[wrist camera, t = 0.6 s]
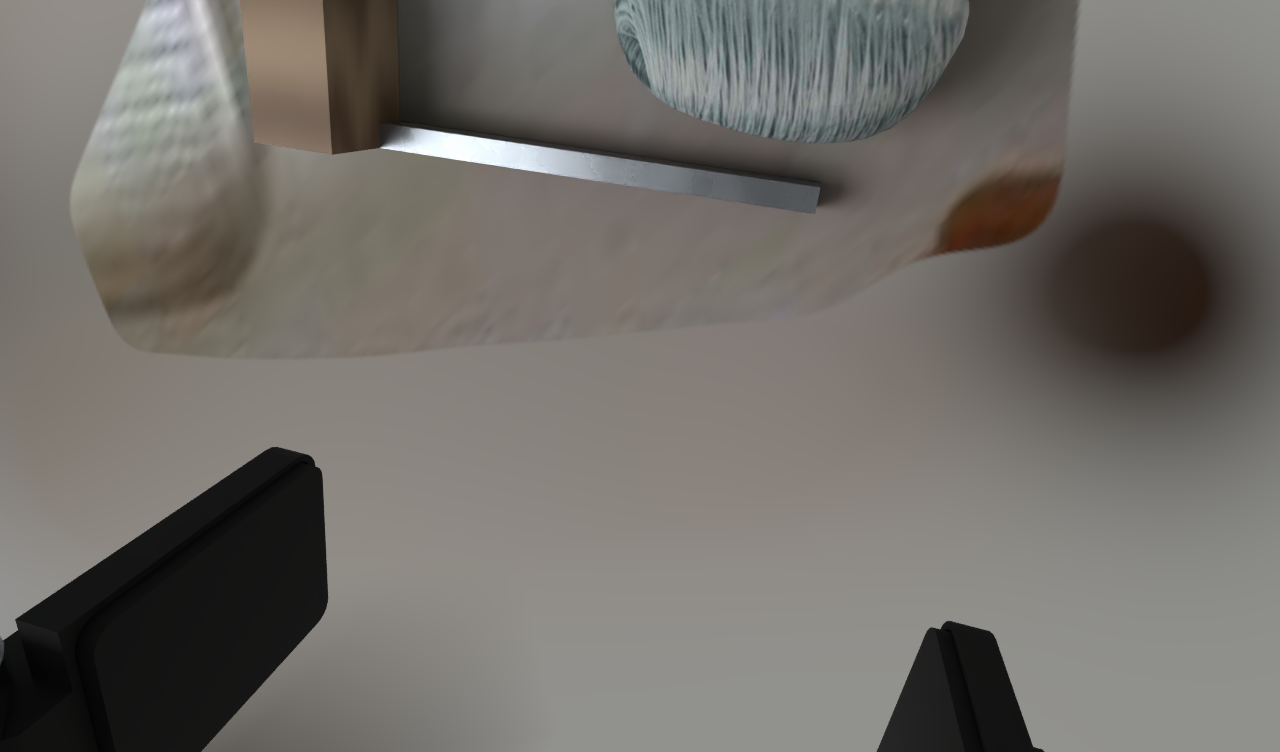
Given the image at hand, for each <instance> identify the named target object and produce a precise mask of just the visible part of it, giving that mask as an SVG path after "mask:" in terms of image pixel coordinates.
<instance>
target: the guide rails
mask: <svg viewBox="0 0 1280 752" xmlns="http://www.w3.org/2000/svg"><path fill="white" fill-rule="evenodd" d="M379 137H380V148H385V149H391V150H398V151H404V152H411V153H417V154H424V155H431V156H437V157H444V158H450V159H457V160H463V161H470V162H477V163H483V164H490V165H496V166H503V167H509V168H516V169H523V170H529V171H536V172H542V173H549V174H555V175H562V176H569V177H575V178H582V179H588V180H595V181H601V182H608V183H614V184H621V185H628V186H634V187H641V188H647V189H654V190H660V191H667V192H674V193H680V194H687V195H693V196H700V197H706V198H713V199H720V200H726V201H733V202H739V203H746V204H752V205H759V206H766V207H772V208H779V209H785V210H792V211H798V212H805V213H811V214H815V212H816V207H817V202H818V198H819V193H820V188H821V187H820V182H815V181H808V180H801V179H794V178H787V177H780V176H773V175H766V174H760V173H753V172H746V171H739V170H732V169H725V168H718V167H711V166H704V165H698V164H691V163H684V162H677V161H670V160H663V159H656V158H649V157H643V156H636V155H629V154H622V153H615V152H608V151H601V150H594V149H588V148H581V147H574V146H567V145H560V144H553V143H546V142H539V141H532V140H526V139H519V138H512V137H505V136H498V135H491V134H484V133H477V132H471V131H464V130H457V129H450V128H443V127H436V126H429V125H422V124H416V123H409V122H402V121H396V122H384V123H379Z"/></svg>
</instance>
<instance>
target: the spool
mask: <svg viewBox="0 0 1280 752" xmlns="http://www.w3.org/2000/svg"><path fill="white" fill-rule="evenodd" d="M968 16H969V0H614V17H615V23H616V28H617V33H618V38H619V42H620V45H621V48H622V51H623V53H624V56H625V58H626V60H627V62H628V64H629V67H630V68H631V70H632V71H633V73H634V74H635V75H636V77H637V78H638V80H639V81H640V82H641V83H642V84H643V86H644V87H645V88H647V89H648V90H649V91H650V92H651V93H653V94H654V95H655V96H656V97H658V98H659V99H660V100H662V101H663V102H664V103H666V104H667V105H669V106H670V107H672V108H674V109H676V110H678V111H681V112H683V113H686V114H688V115H691V116H693V117H696V118H698V119H701V120H704V121H707V122H710V123H713V124H716V125H719V126H722V127H726V128H729V129H732V130H735V131H739V132H742V133H746V134H751V135H756V136H761V137H766V138H773V139H779V140H784V141H793V142H807V143H834V142H847V141H855V140H860V139H865V138H868V137H870V136H873V135H875V134H877V133H880V132H882V131H885V130H888V129H890V128H891V127H893V126H894V125H895V124H897V123H898V122H900V121H901V120H903V119H904V118H906V117H907V116H908V115H909V114H910V113H911V112H913V111H914V110H915V109H916V108H917V107H918V106H919V104H920V103H921V101H922V100H923V99H924V98H925V97H926V96H927V95H928V93H929V92H930V91H931V90H932V88H933V87H934V86H935V85H936V83H937V82H938V80H939V78H940V77H941V75H942V73H943V72H944V70H945V68H946V67H947V65H948V63H949V61H950V60H951V58H952V56H953V55H954V53H955V51H956V50H957V48H958V46H959V44H960V42H961V40H962V38H963V37H964V33H965V29H966V24H967V20H968Z"/></svg>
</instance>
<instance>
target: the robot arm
mask: <svg viewBox="0 0 1280 752" xmlns="http://www.w3.org/2000/svg"><path fill="white" fill-rule="evenodd" d="M327 603H328V585H327V564H326V542H325V522H324V499H323V478H322V472H321V470H320V468H318V467H315V462H314V460H313V458H312V457H311V456H309V455H306V454H303V453H298V452H295V451H291V450H287V449H283V448H279V447H272V448H270V449H267V450H266V451H264V452H263V453H261V454H260V455H258V456H257V457H255V458H254V459H252V460H251V461H249V462H248V463H246V464H245V465H243V466H242V467H240V468H239V469H237V470H236V471H234V472H233V473H231V474H230V475H229V476H227V477H226V478H224V479H223V480H221V481H220V482H218V483H217V484H215V485H214V486H212V487H211V488H209V489H208V490H206V491H205V492H203V493H202V494H200V495H199V496H197V497H196V498H194V499H193V500H191V501H190V502H189V503H187V504H186V505H184V506H183V507H181V508H180V509H178V510H177V511H175V512H174V513H172V514H171V515H169V516H168V517H166V518H165V519H163V520H162V521H160V522H159V523H157V524H156V525H154V526H153V527H152V528H150V529H149V530H147V531H146V532H144V533H143V534H141V535H140V536H138V537H137V538H135V539H134V540H132V541H131V542H129V543H128V544H126V545H125V546H123V547H122V548H120V549H119V550H117V551H116V552H114V553H113V554H111V555H110V556H109V557H107V558H106V559H104V560H103V561H101V562H100V563H98V564H97V565H96V566H94V567H92V568H91V569H89V570H88V571H86V572H85V573H83V574H82V575H80V576H79V577H77V578H76V579H74V580H73V581H72V582H70V583H68V584H67V585H66V586H64V587H63V588H61V589H60V590H58V591H57V592H56V593H54V594H52V595H51V596H49V597H48V598H46V599H45V600H43V601H42V602H40V603H39V604H37V605H36V606H34V607H33V608H31V609H30V610H29V611H27V612H26V613H24V614H23V615H21V616H20V617H18V618H17V619H15V620H16V624H17V627H18V631H16V632H15V633H13V634H12V635H10V636H9V637H8V638H6V639H5V640H2V638H1V637H0V752H201V751H202V750H203V749H204V748H205V747H206V746H207V744H208V743H209V742H210V741H211V740H212V739H213V738H214V737H215V736H216V734H217V733H218V732H219V731H220V730H221V729H222V728H223V727H224V726H225V725H226V723H227V722H228V721H229V720H230V719H231V718H232V717H233V716H234V715H235V714H236V712H237V711H238V710H239V709H240V708H241V707H242V706H243V705H244V704H245V702H246V701H247V700H248V699H249V698H250V697H251V696H252V695H253V694H254V693H255V692H256V690H257V689H258V688H259V687H260V686H261V685H262V684H263V683H264V681H265V680H266V679H267V678H268V677H269V676H270V675H271V674H272V673H273V672H274V671H275V669H276V668H277V667H278V666H279V665H280V664H281V663H282V662H283V661H284V660H285V659H286V657H287V656H288V655H289V654H290V653H291V652H292V651H293V650H294V649H295V648H296V646H297V645H298V644H299V643H300V642H301V641H302V640H303V639H304V638H305V636H306V635H307V634H308V633H309V632H310V631H311V630H312V629H313V628H314V627H315V625H316V624H317V623H318V622H319V621H320V619H321V618H322V616H323V614H324V612H325V610H326V606H327ZM877 752H1044V751H1043V750H1042V749H1038V748H1035V747H1033V745H1032V743H1031V739H1030V737H1029V734H1028V731H1027V728H1026V725H1025V722H1024V719H1023V716H1022V714H1021V711H1020V708H1019V705H1018V702H1017V699H1016V697H1015V693H1014V690H1013V687H1012V685H1011V682H1010V679H1009V676H1008V673H1007V670H1006V667H1005V664H1004V661H1003V658H1002V656H1001V653H1000V650H999V647H998V644H997V641H996V639H995V637H994V635H993V634H992V633H991V632H990V631H987V630H983V629H979V628H975V627H971V626H967V625H963V624H959V623H956V622H952V621H947V622H945V623H944V624H943V625H942V627H941V629H936V628H929V629H928V631H927V632H926V634H925V637H924V639H923V642H922V644H921V646H920V649H919V651H918V654H917V656H916V659H915V661H914V663H913V666H912V668H911V671H910V673H909V675H908V678H907V680H906V683H905V685H904V687H903V690H902V692H901V695H900V697H899V699H898V702H897V704H896V707H895V709H894V711H893V714H892V716H891V719H890V721H889V724H888V726H887V728H886V731H885V733H884V736H883V738H882V740H881V743H880V745H879V748H878V750H877Z"/></svg>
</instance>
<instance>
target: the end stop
mask: <svg viewBox="0 0 1280 752" xmlns="http://www.w3.org/2000/svg"><path fill="white" fill-rule="evenodd" d="M240 7H241V17H242V26H243V36H244V46H245V55H246V65H247V75H248V85H249V94H250V104H251V114H252V123H253V133H254V143H261V144H267V145H274V146H280V147H286V148H293V149H299V150H306V151H312V152H319V153H325V154H331V155H333V154H340V153H347V152H354V151H361V150H368V149H375V148H380V137H379V123H384V122H396V121H400V107H399V63H398V19H397V0H240Z"/></svg>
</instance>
